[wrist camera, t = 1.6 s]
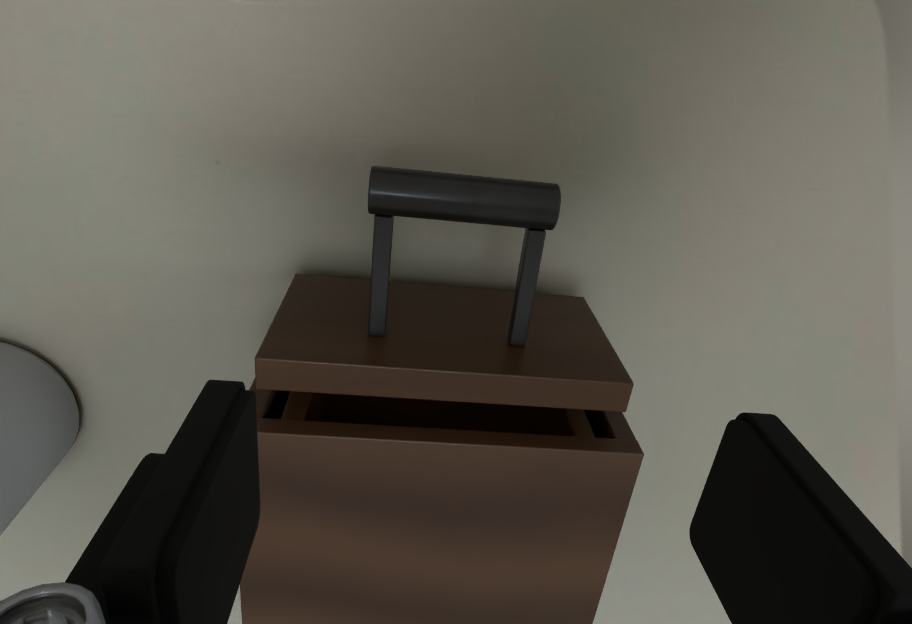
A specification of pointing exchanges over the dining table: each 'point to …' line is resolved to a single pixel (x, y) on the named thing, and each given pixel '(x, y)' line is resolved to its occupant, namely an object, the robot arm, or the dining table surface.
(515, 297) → the pull-out drawer box
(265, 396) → the cabinet
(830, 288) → the dining table surface
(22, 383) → the cup
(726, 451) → the robot arm
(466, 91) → the dining table surface
